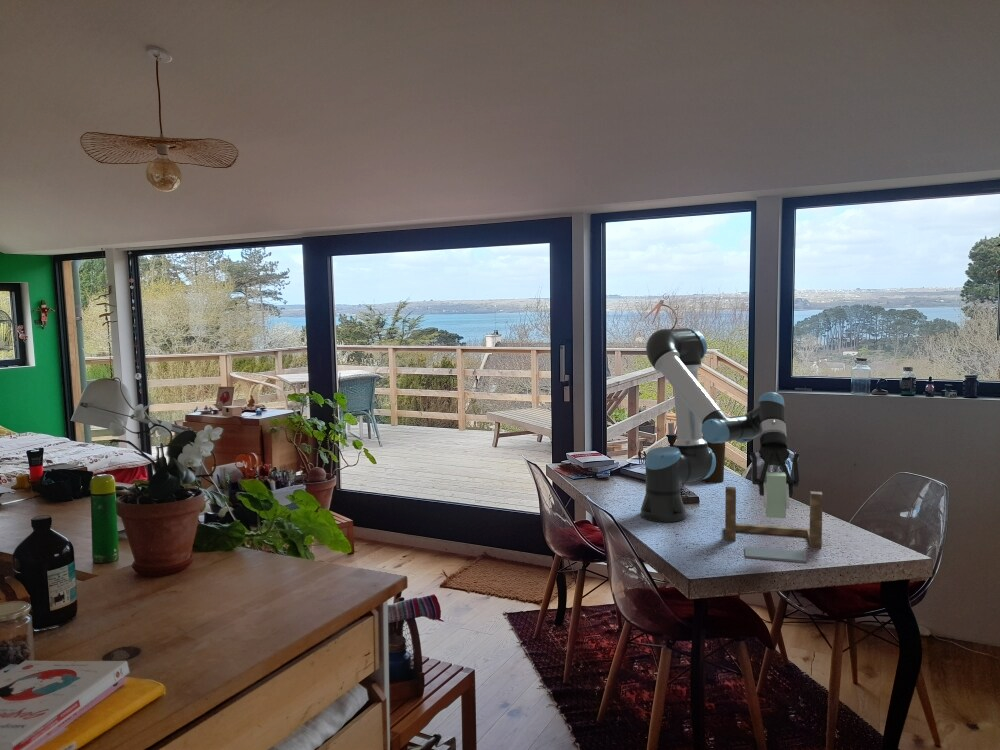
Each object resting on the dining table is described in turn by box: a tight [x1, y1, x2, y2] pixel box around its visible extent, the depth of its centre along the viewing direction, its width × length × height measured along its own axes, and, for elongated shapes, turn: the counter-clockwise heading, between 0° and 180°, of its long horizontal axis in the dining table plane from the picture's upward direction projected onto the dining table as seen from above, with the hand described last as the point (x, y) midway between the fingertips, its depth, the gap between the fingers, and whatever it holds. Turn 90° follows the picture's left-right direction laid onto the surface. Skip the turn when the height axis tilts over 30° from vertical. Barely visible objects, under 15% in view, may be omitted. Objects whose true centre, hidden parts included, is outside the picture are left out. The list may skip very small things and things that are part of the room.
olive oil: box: [701, 435, 726, 483], centre depth 287 cm, size 11×11×25 cm
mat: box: [744, 546, 808, 564], centre depth 196 cm, size 16×8×1 cm, turn 72°
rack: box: [724, 486, 824, 549], centre depth 211 cm, size 27×12×16 cm, turn 72°
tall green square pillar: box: [765, 471, 787, 519], centre depth 195 cm, size 5×5×12 cm
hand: (776, 505), depth 192 cm, fingers closed on tall green square pillar, 5 cm apart
